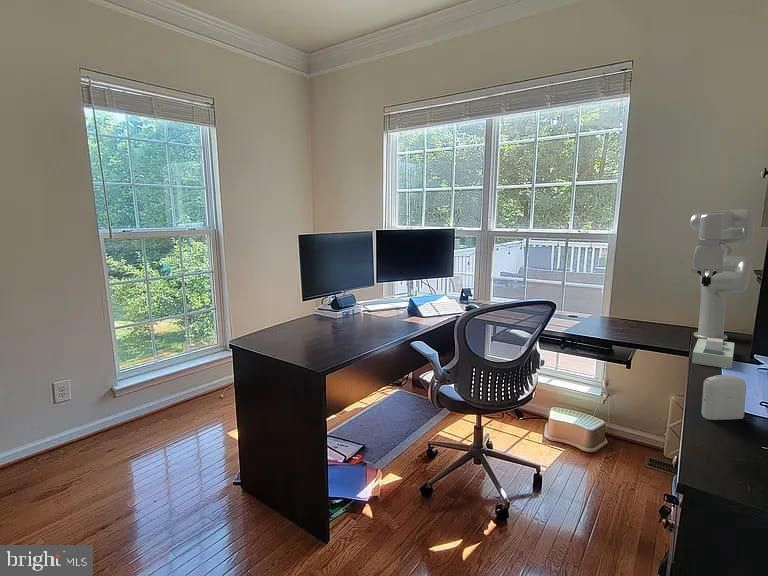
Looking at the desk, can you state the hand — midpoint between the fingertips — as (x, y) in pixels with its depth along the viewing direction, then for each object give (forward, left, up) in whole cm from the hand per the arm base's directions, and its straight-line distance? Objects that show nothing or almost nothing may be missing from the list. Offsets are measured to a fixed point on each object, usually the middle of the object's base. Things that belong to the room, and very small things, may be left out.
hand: (705, 286), depth 180 cm
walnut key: (+7, +5, -25) cm, 27 cm away
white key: (+15, +5, -24) cm, 28 cm away
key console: (+15, +5, -27) cm, 31 cm away
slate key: (+23, +5, -25) cm, 34 cm away
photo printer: (+78, +10, -27) cm, 83 cm away
